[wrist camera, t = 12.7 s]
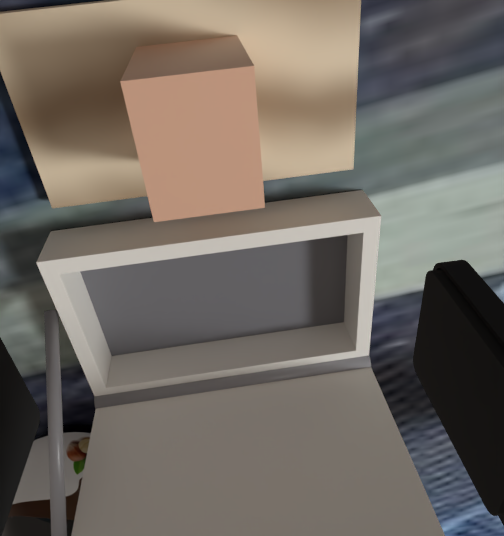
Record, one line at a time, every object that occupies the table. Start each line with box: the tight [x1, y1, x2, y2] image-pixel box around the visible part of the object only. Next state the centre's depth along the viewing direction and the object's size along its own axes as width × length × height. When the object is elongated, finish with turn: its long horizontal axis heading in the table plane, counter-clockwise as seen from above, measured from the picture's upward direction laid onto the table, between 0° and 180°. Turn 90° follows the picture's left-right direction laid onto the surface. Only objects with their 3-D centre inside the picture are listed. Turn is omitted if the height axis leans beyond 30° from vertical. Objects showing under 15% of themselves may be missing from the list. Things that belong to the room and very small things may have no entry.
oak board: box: [0, 0, 361, 208], centre depth 25 cm, size 10×18×1 cm, turn 95°
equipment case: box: [36, 190, 445, 536], centre depth 25 cm, size 14×21×20 cm, turn 95°
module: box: [120, 35, 265, 222], centre depth 22 cm, size 6×5×7 cm
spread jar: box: [2, 425, 92, 536], centre depth 36 cm, size 12×11×12 cm
